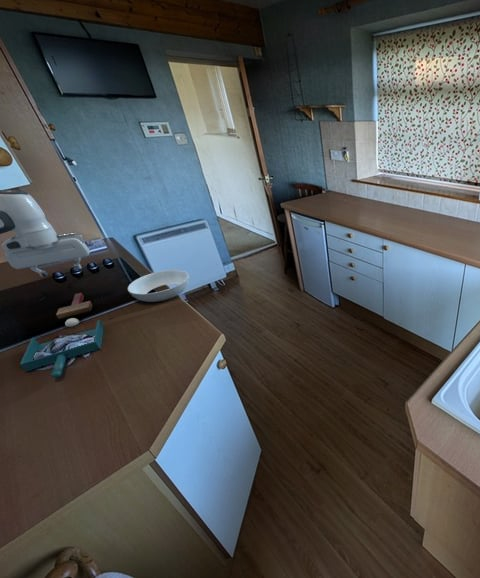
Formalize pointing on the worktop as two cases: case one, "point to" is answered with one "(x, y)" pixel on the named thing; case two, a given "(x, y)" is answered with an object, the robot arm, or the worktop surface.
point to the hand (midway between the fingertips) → (62, 272)
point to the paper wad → (71, 322)
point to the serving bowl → (157, 279)
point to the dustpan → (61, 356)
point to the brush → (75, 307)
